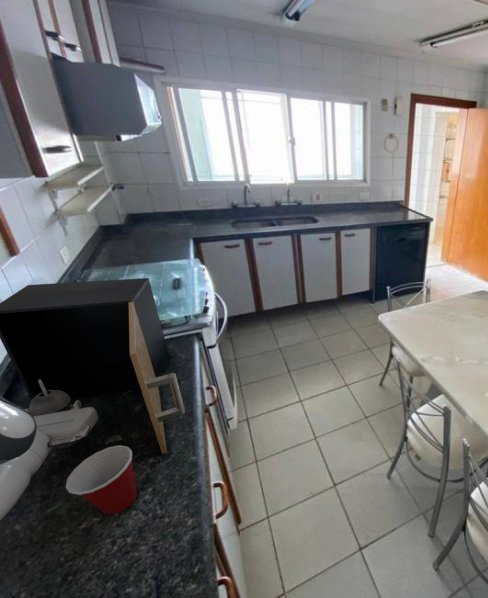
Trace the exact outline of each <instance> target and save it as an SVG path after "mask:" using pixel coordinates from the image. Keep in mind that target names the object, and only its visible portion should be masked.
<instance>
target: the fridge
mask: <svg viewBox="0 0 488 598" xmlns="http://www.w3.org/2000/svg"><path fill="white" fill-rule="evenodd" d="M129 302H133V303H134V307H135V310H136V313H137V317H138V320H139V323H140V327H141V330H142V334H143V337H144V340H145V344H146V347H147V350H148V354H149V357H150V361H151V364H152V367H153V371H154V374H155V377H156V378H157V377H160V376H163V375H162V374H163V372H164V370H165V366H166V364H167V361H168V360H169V357H170V352H169V349H168V346H167V342H166V338H165V334H164V330H163V327H162V323H161V320H160V315H159V312H158V308H157V305H156V304H157V303H156V301H155V297H154V293H153V289H152V286H151V282H150V278H149V277H142V278H123V279H107V280H106V279H105V280H90V281H89V280H87V281H72V282H56V283H55V282H54V283H39V284H27V285H26V286H24V287H23V288H21V289H20V290H18V291H17V292H15V293H13V294H12V295H10V296H9V297H7V298H5V299H4V300H3V301H1V302H0V342H1V343H2V346H3V347H4V349H5V351H6V353H7V355H8V357H9V359H10V361H11V362H12V365H13V367H14V368H15V370H16V372H17V375H18V376H19V379H20V381H21V382H22V385H23V386H24V388H25V390H26V392H27V394H28V396H29V398H30V401H32V399H33V398H34V397H35V396H36V395H38V394H40V393H41V392H43V391H42V389H41V387H40V384H39V382H38V380H41V381H42V383H43V385H44V387H45V390H46V391H47V390H60V391H63V392H65V393H67V394H68V395H69V397H71V399H72V401H77V400H80V402H85V401H89V400H94V399H100V398H104V397H109V396H115V395H119V394H125V393H130V392H135V391H137V389H138V388H137V381H136V372H135V369H134V366H133V363H132V360H131V357H130V341H129Z"/></svg>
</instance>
